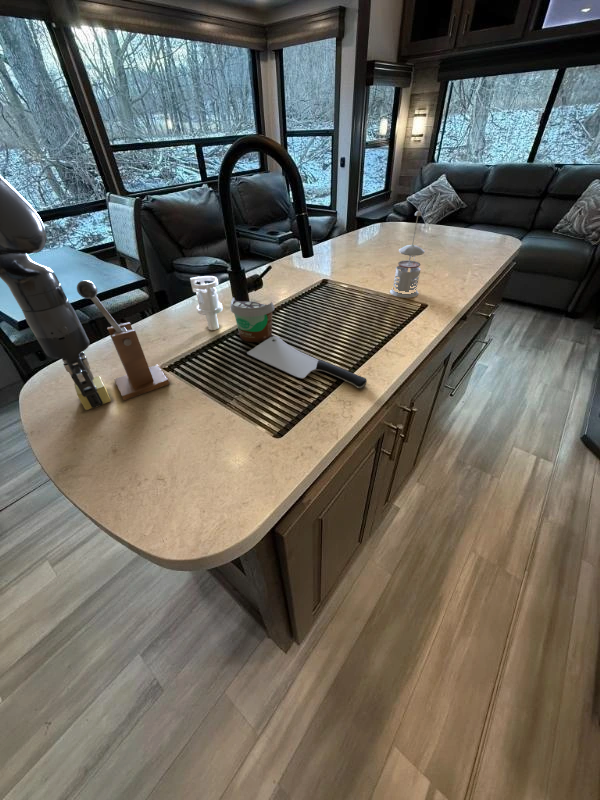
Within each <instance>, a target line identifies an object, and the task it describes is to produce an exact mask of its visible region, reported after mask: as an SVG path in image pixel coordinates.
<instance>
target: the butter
mask: <svg viewBox="0 0 600 800" xmlns="http://www.w3.org/2000/svg"><path fill="white" fill-rule="evenodd" d="M93 383H94V385H95V387H97V392H98V394H99V396H100V398H101V399H102V402H103V404H102V405H104V404H107V403H110V402H112V400H111V397H110V394H109V392H108V390H107V388H106V386H105V384H104V382H103V380H102V377H101V376H100V375H97V376H94V379H93ZM73 385H74V389H75V392H76V395H77V398H78V399H79V400H80V403H81V405H82V407H83V409H84V410H85V411H88V410H91V409H94V408H93V407H91V405H90V403H89V401H88V399H87V398H86V397H84V396H82V394H81V391H80V390H79V388H78V386H77V385H76V384H75V383H73Z"/></svg>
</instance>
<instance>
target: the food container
mask: <svg viewBox="0 0 600 800" xmlns="http://www.w3.org/2000/svg"><path fill="white" fill-rule="evenodd" d="M274 311H275V304H274V303H273V301H271V302H269V303H268V304H265V303H259V302H256V301H241V300H236V299H235V297H232V298H231V301H230V312H232V314H233V315H234V318H235V323H236V326H237V329H238V334H239V337H240V339H241V340H243V341H244V342H248V343H260V342H264V341H265V340H267V339H269V338H270V337H272V336H273V312H274Z"/></svg>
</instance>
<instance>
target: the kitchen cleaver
mask: <svg viewBox="0 0 600 800" xmlns="http://www.w3.org/2000/svg"><path fill="white" fill-rule="evenodd" d="M246 354H247V355H248V356H250V357H252V358H253V359H256V360H259V361H260V362H263V363H264V364H267V365H269V366H271V367H273V368H276V369H278V370H280V371H282V372H283V373H286V374H288V375H291V376H292V377H295V378H298V379H302V380H304V379H305V378H306V377H307V376H308V375H309V374H311V372H313V371H316V372H322V373H325V374H328V375H330V376H332V377H335V378H337V379H340V380H341V381H344V382H346V383H348V384H351V385H352V386H354V387H355V388H357V389H364V387H366V385H367V381H368V380H367V378H366V377H364V376H361V375H359V374H356V373H353V372H351V371H348V370H346V369H344V368H341V367H339V366H336V365H335V364H333V363H329V362H327V361H324V360H321V359H318V358H315V357H313V356H311V355H309V354H306V353H304V352H302V351H300V350H299V349H296V348H294V347H293V346H291V345H290V344H288V343H287V342H285V341H284V340H283V339H281V337H279V336H277V335H272V336H271V337H270V338H268V339H267V340H264V341H261V343H259V344H258V345H256V346H255V347H253V348H252V349H250V350H248V351H247V352H246Z"/></svg>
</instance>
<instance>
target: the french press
mask: <svg viewBox="0 0 600 800" xmlns="http://www.w3.org/2000/svg"><path fill="white" fill-rule="evenodd" d="M414 216H415V217H416V221H415V227H414V232H413V239H412V243H411V244H407V245H404V246H402V247H401V248H399V249H398V252H399V254H401V255H404V256H409V258H408V259H405V260H400V261H398V262H397V264H398V266H396V267H395V274H394V278H393V279H394V280H393V285H392V288H391V289H392V290H391V289H390V290H389V294H390V295H392V296H394V297H398V298H405V299H411V298H415V297H417V296H419V291H418V290H416V289H418V284H419V279H420V274H421V267H420V266H421V263H420V262H419V261H415V260H416V256H423V255H424V254H425V252H426V251H425V249H424V248H422V247H420V246H418V245H417V244H416V245H415V244H414V241H415V236H416V230H417V224H418V219H419V217H421V216H422V211H420V210H416V212H415V213H414ZM411 258H413V260H411ZM395 284H396V285H398V287H396V286H395ZM412 284H413V285H412ZM393 286H394V287H395V288H396V289H398V290H399V291H405V292H409V290H414V289H415V288H416V287H417V288H416V289H415V290H416V292H414V293H411V294H402V293H398V292H395V291H394V290H393ZM410 286H411V287H413V286H416V287H414V288H410Z"/></svg>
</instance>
